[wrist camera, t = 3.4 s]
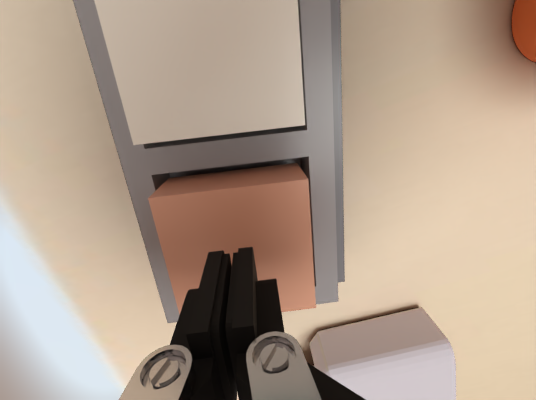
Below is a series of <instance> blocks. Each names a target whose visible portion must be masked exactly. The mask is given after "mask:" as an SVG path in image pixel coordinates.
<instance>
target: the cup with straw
mask: <svg viewBox="0 0 536 400" xmlns="http://www.w3.org/2000/svg"><path fill="white" fill-rule="evenodd" d="M512 33H513V38H514V41H515V43H516V45H517V47H518V49H519V51H520V52H521V53H522V54H523V55H524V56H525V57H526V58H528V59H529V60H531V61H534V62H536V0H515V4H514V8H513V13H512Z"/></svg>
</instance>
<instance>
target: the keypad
mask: <svg viewBox="0 0 536 400" xmlns="http://www.w3.org/2000/svg"><path fill="white" fill-rule="evenodd" d="M73 2H74V5H75V9H76V12H77V16H78V19H79V22H80V26H81V29H82V33H83V36H84V39H85V43H86V46H87V50H88V53H89V56H90V60H91V63H92V67H93V70H94V74H95V77H96V80H97V84H98V87H99V91H100V94H101V97H102V101H103V104H104V108H105V111H106V114H107V118H108V121H109V125H110V128H111V131H112V135H113V138H114V142H115V145H116V149H117V152H118V155H119V159H120V162H121V166H122V169H123V172H124V176H125V179H126V183H127V186H128V189H129V193H130V196H131V200H132V203H133V206H134V210H135V213H136V217H137V220H138V223H139V227H140V230H141V234H142V237H143V241H144V244H145V247H146V251H147V254H148V258H149V261H150V264H151V268H152V271H153V275H154V278H155V281H156V285H157V288H158V292H159V295H160V298H161V302H162V305H163V309H164V312H165V316H166V319H167V322H168V323H173V322H177V321H178V318H179V311H178V307H177V304H176V300H175V296H174V293H173V289H172V285H171V282H170V278H169V274H168V270H167V267H166V263H165V259H164V256H163V252H162V248H161V245H160V241H159V237H158V234H157V230H156V226H155V223H154V219H153V215H152V212H151V208H150V204H149V200H148V198H149V197H150V196H151V195H152V194H153V193H154V192H155V191H156V190H157V189H158V188H159V187H160V186H161V185H162V184H163V183H164V182H165V181H166V180H167V179H168V178H173V177H182V176H190V175H199V174H207V173H216V172H224V171H232V170H241V169H249V168H258V167H266V166H275V165H283V164H291V163H297V164H298V165H299V167H300V168H301V169H302V171H303V172H304V174H305V175H306V176H307V178H308V181H309V198H310V215H311V231H312V248H313V265H314V281H315V298H316V304H322V303H330V302H338V282H345V276H344V212H343V148H342V84H341V20H340V0H298V14H299V31H300V47H301V64H302V81H303V98H304V114H305V125H302V126H294V127H285V128H277V129H268V130H259V131H251V132H242V133H234V134H225V135H216V136H208V137H199V138H191V139H182V140H173V141H165V142H156V143H148V144H139V145H133V142H132V138H131V134H130V130H129V127H128V123H127V119H126V116H125V112H124V108H123V105H122V101H121V97H120V94H119V90H118V86H117V83H116V79H115V75H114V72H113V68H112V64H111V60H110V57H109V53H108V49H107V46H106V42H105V38H104V35H103V31H102V27H101V24H100V20H99V16H98V13H97V9H96V5H95V2H94V0H73Z"/></svg>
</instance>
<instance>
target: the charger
mask: <svg viewBox="0 0 536 400" xmlns="http://www.w3.org/2000/svg"><path fill="white" fill-rule="evenodd" d="M309 345H310V349H311V353H312V357H313V362H314V367H315V368H317V369H318V370H320V371H322V372H323V373H325V374H326V375H328V376H329V377H331V378H333V379H334V380H336V381H337V382H339V383H340V384H342V385H344V386H345V387H347V388H348V389H350V390H351V391H353V392H355V393H356V394H358V395H359V396H361V397H363V398H364V399H366V400H456V363H455V357H454V353H453V349H452V347H451V344H450V342H449V341H448V339H447V338H446V336H445V335H444V334H443V333H442V332H441V330H440V329H439V328H438V327H437V325H436V324H435V323H434V322H433V320H432V319H431V318H430V317H429V315H428V314H427V313H426V312H425V311H424V309H423V308H422V307H420V308H415V309H411V310H407V311H403V312H398V313H394V314H390V315H385V316H381V317H377V318H373V319H368V320H364V321H360V322H355V323H351V324H347V325H343V326H338V327H334V328H330V329H325V330H321V331H318V332H317V333H316V335H315V336H314V337H313V339H312V340H311V342H310V343H309Z"/></svg>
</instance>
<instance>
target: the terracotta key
mask: <svg viewBox="0 0 536 400" xmlns="http://www.w3.org/2000/svg"><path fill="white" fill-rule="evenodd" d="M148 200H149V204H150V208H151V212H152V215H153V219H154V223H155V226H156V230H157V234H158V237H159V241H160V245H161V248H162V252H163V256H164V259H165V263H166V267H167V270H168V274H169V278H170V282H171V285H172V289H173V293H174V296H175V300H176V304H177V307H178V311H179V315H180V312H181V309H182V306H183V303H184V300H185V297H186V294H187V292H188V290H189V289H196V288H199V285H200V281H201V277H202V274H203V270H204V266H205V263H206V259H207V255H208V252H213V251H221V250H223V251H224V253H225V254H228V253H229V254H230V258H231V264H232V259H233V253H236V252H238V248H245V247H253V251H254V257H255V264H256V271H257V279H258V281H259V280H267V279H275V278H276V279H277V286H278V293H279V300H280V306H281V312H286V311H294V310H302V309H310V308H316V298H315V281H314V265H313V248H312V231H311V215H310V198H309V181H308V178H307V176H306V175H305V174H304V172H303V171H302V169H301V168H300V167H299V165H298V164H297V163H291V164H283V165H275V166H266V167H258V168H249V169H241V170H232V171H224V172H216V173H207V174H199V175H190V176H182V177H173V178H168V179H167V180H166V181H165V182H164V183H163V184H162V185H161V186H160V187H159V188H158V189H157V190H156V191H155V192H154V193H153V194H152V195H151V196H150V197H149V198H148Z"/></svg>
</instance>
